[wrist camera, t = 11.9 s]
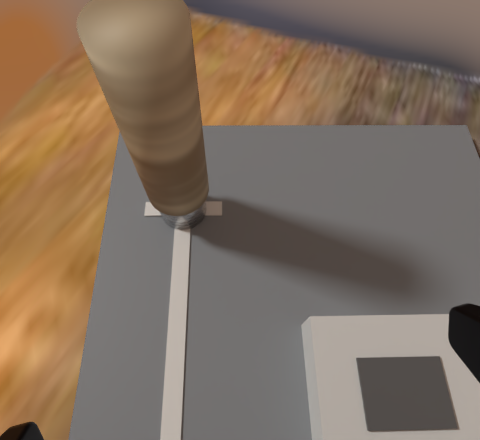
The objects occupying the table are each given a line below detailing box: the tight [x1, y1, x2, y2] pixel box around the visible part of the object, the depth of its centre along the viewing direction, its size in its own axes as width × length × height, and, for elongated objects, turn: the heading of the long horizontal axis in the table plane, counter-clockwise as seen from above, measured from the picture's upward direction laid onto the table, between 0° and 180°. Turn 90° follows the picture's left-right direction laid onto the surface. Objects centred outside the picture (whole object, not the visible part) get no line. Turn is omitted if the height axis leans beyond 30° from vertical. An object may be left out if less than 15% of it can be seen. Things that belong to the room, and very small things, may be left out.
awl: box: [77, 0, 209, 230], centre depth 17 cm, size 4×4×13 cm
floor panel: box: [69, 125, 480, 440], centre depth 22 cm, size 24×26×1 cm
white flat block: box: [301, 314, 480, 440], centre depth 17 cm, size 7×12×3 cm, turn 91°
